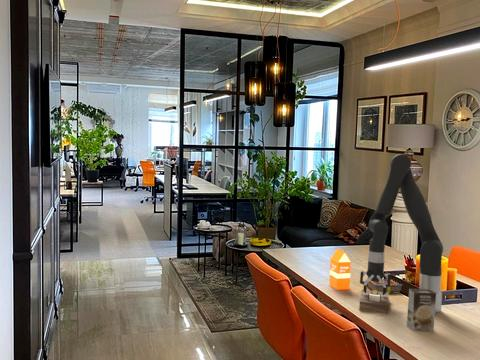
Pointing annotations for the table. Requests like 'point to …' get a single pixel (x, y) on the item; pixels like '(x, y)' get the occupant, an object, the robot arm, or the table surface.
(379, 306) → the pocket block
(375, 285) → the decorative book
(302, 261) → the table surface
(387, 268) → the table surface
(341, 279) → the orange juice
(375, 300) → the tile
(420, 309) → the coffee box
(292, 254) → the table surface
